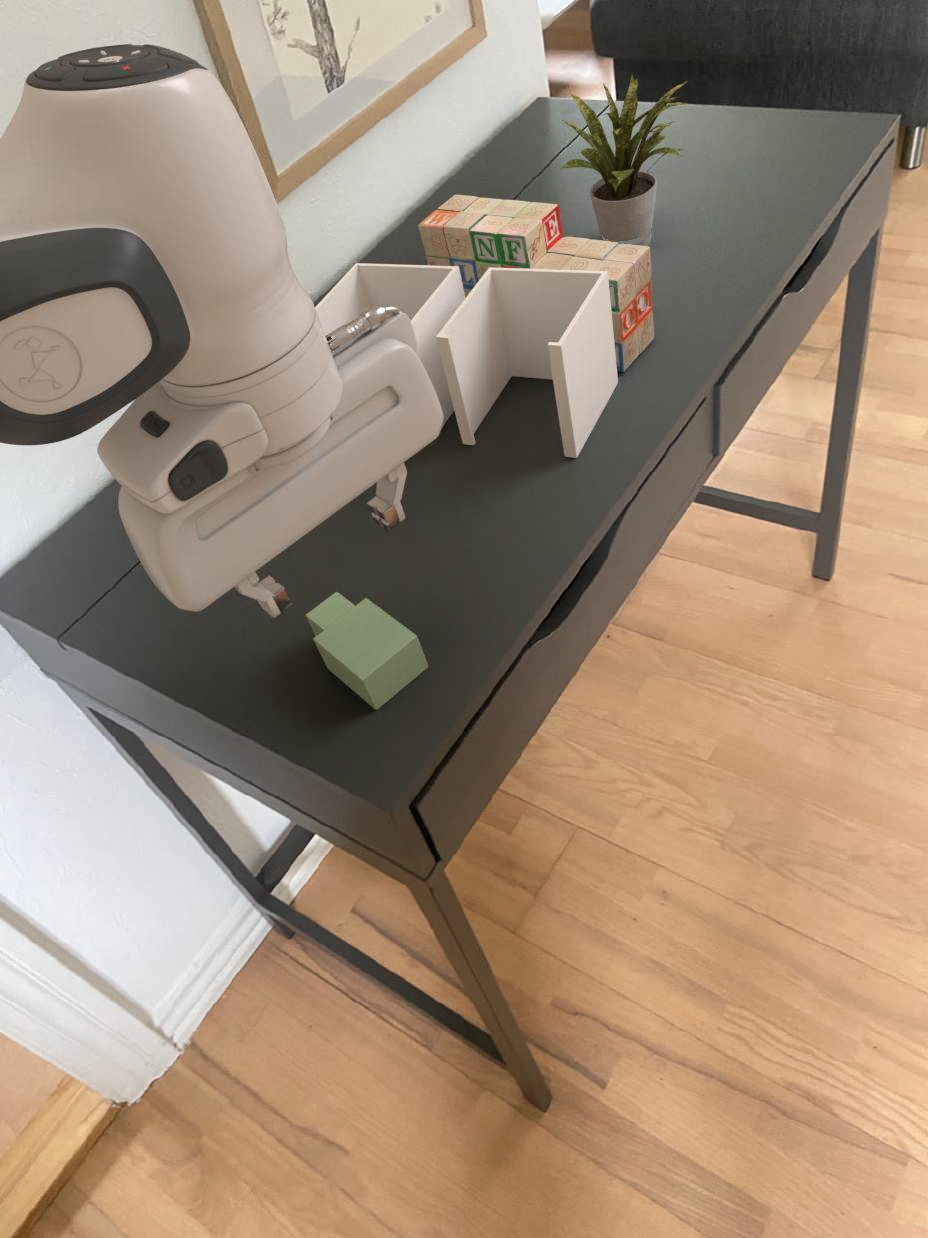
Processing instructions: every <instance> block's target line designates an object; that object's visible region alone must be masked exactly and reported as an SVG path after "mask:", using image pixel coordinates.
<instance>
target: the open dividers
mask: <svg viewBox="0 0 928 1238" xmlns="http://www.w3.org/2000/svg"><path fill="white" fill-rule="evenodd" d="M378 304H380V305H382V306H383V307H387V306H395V307H398V308H400V309H401V310H403V311H404V312H405V313H406V314H407V316H408V317H409V319H410V321H411V324H412V327H413V331H414V334H415V338H416V342H417V351H416V354H417V355H418V357H419V358H420V360H421V362H422V364H423V366H424V367H425V369H426V372H427V374H428V376H429V378H430V380H431V382H432V384H433V387H434V389H435V392H436V394H437V397H438V399H439V402H440V405H441V408H442V411H443V415H444V419H443V424H442V427H441V430H443V428H444V426H445V425H446V423H447V422H448V420H449V419H450V417H451V416H452V415H453V413H454V414H455V418H456V422H457V427H458V430H459V434H460V438H461V442H462V445H467V446H475V444H476V439H475V433H476V432H477V430H478V429H479V427H480V425H481V424H482V422H483V421H484V419H485V418H486V416H487V415H488V413H489V412H490V410H491V408H492V407H493V406H494V404H495V403H496V401H497V399H498V398H499V396H500V395H501V393H502V392H503V391H504V389H505V387H506V385H507V384H508V383H509V381H510V380H511V379H512V377H517V378H528V379H529V378H531V379H539V380H540V379H541V380H552V382H553V389H554V396H555V404H556V409H557V416H558V422H559V428H560V435H561V442H562V448H563V455H564V458H565V457H566V458H571V459H572V458H573V459H578V457H579V455H580V453H581V452H582V450H583V448H584V446H585V444H586V442H587V441H588V439H589V437H590V435H591V433H592V432H593V430H594V428H595V426H596V424H597V423H598V421H599V419H600V416H602V413H603V411H604V409H605V408H606V406H607V404H608V402H609V401H610V398H611V396H612V395H613V393H614V391H615V389H616V387H617V386H618V384H619V378H618V371H617V365H616V354H615V344H614V333H613V322H612V311H611V301H610V290H609V279H608V271H585V270H554V269H523V268H491V267H489V268H488V270H487V271H486V272H485V274H484V275H483V276H482V277H481V279H480V280H479V281H478V283H477V284H476V285H475V287H474V288H473V289H472V290H471V292H470V293H469V294H468V296H467V297H466V298H465V293H464V289H463V284H462V280H461V275H460V270H459V266H429V265H428V264H397V263H395V264H394V263H393V264H391V263H365V262H364V263H363V262H356V263H355V264H354V265H352V267H351V268H350V269H349V270H348V271H347V272H346V273H345V275H343V277H342V278H341V279H340V280H339V281H338V282H337V283H336V284H335V285H334V286H333V287H332V288H331V289H330V290H329V292H328V293H327V294H325V296H324V297H323V298H322V299H321V300H320V301H319V302H318V304H316V306H314V307H315V310H316V312H317V316H318V317H319V320H320V323H321V326H322V328H323V331H324V334H325V336H326V335H328V334H329V333H331V332H332V331H334V330H335V329H337V328H339V327H341V326H343V325H345V324H347V323H349V322H351V321H353V320H355V319H356V318H358V317H359V316H360V314H361V313H362V312H364V311H365V310H366V309H368V308H370V307H372V306H374V305H378ZM389 314H390V313H389ZM389 314H388V315H389Z"/></svg>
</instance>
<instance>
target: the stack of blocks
mask: <svg viewBox="0 0 928 1238" xmlns="http://www.w3.org/2000/svg"><path fill="white" fill-rule="evenodd" d="M417 228H418V231H419V234H420V238H421V239H420V240H421V242H422V245H423V249H424V253H425V259H426V262H427V265H429V266H459V270H460V275H461V280H462V284H463V289H464V293H465V298H466V297H467V296H468V294H469V293H470V292H471V290H472V289H473V288H474V287H475V285H476V284H477V283H478V281H479V280H480V279H481V277H482V276H483V275H484V274H485V272H486V271H487V270H488V268H489V267H491V268H523V269H554V270H585V271H608V279H609V290H610V301H611V311H612V322H613V333H614V344H615V354H616V365H617V372H622V373H624V372H625V371H626V370H627V369H628V368H629V367H630V366H631V364H632V363H633V362H634V361H636V359H637V358H638V357H639V355H641V354H642V353H643V351H645V350H646V348H647V347H648V346H649V345H650V344H651V343H652V341H653V340H654V338H655V324H654V311H653V309H654V303H653V289H652V280H651V279H652V260H651V259H652V258H651V247H650V246H649V245H648V246H641V245H632V244H624V243H622V244H620V243H618V242H611V241H603V240H602V239H594V238H593V239H590V238H587V237H575V236H564V233H563V232H564V231H563V225H562V219H561V211H560V206H559V204H557V203H549V202H548V203H547V202H537V201H526V200H516V199H502V198H492V197H491V198H490V197H479V196H475V195H474V196H473V195H465V194H454V195H453V196H452V197H450V198H449V199H447V200H446V201H445V202H444V203H442V204H441V205H440V206H438V207H437V209H436V210H434V211H432V212H431V213H430V214H429V215H428V216H426V217H425V218H424V219H423V220H422V221H421V222H419V224H418V225H417Z"/></svg>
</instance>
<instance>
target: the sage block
mask: <svg viewBox="0 0 928 1238" xmlns="http://www.w3.org/2000/svg"><path fill="white" fill-rule="evenodd" d="M305 618H306V619H307V622H308V624H309V625H310V628H311V630H312V633H313V634H314V636H315V637H313V638H312V640H313V642H314V644H315V646H316V648H317V650H318V652H319V654H320V656H321V658H322V660H323V662H324V664H325V666H326V668H327V670H329V672H330V673H332V674H333V675H334V676H336V678H338V679H339V680H340V681H341V682H342V683H344V685H346V686H347V687H348V688H349V689H351V690H352V691H353V692H354V693H355V694H356V695H357V696H359V697H360V698H361V699H362V700H363V701H364V702H366V703H367V704H368V705H369V706H370V707H371V708H373V709H374V710H375V711H378V710H379V709H380V708H381V707H383V706H385V704H386V703H387V702H389V701H390V700H391V699H392V698H393V697H395V696H396V695H397V694H398V693H399V692H401V691H402V690H403V689H404V688H405V687H407V686H408V685H409V684H410V683H411V682H412V681H413V680H415V679H416V678H417V677H419V676H420V675H421V674H423V672H424V671H426V670H427V669H428V668H429V664H428V661H427V658H426V655H425V654H424V651H423V648H422V645H421V642H420V640H419V637H418V635H416V634H415V633H414V632H413V631H411V630H410V629H409V628H407V627H406V626H404V625H403V624H402V623H401V622H399V621H398V620H396V619H395V618H394V617H392V616H391V615H390V614H388V613H387V612H386V611H384V610H383V609H382V608H380V607H379V606H378V605H377V604H375V603H374V602H372V601H371V600H370V599H368V598H367V597H365V598H364V599H362V600H360V602H358V603H357V604H354V603H352V602H351V601H350V600H348V599H347V598H346V597H344V596H343V595H342V594H341V593H339V592H338V591H335V592H334V593H332V594H331V595H330V596H329V597H327V598H326V599H324V600H323V601H322V602H320V603H319V604H318V605H316V606H315V607H314V608H313V609H311V610H310V611H308V613H306V614H305Z"/></svg>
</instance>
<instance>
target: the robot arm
mask: <svg viewBox="0 0 928 1238" xmlns="http://www.w3.org/2000/svg"><path fill="white" fill-rule="evenodd" d="M23 83H24V85H23V89H22V93H21V97H20V101H19V103H18V105H17V107H16V110H15V111H14V114H13V115H12V117H11V119H10V121H9V123H8V124H7V126H6V128H5V129H4V131H3V133H2V135H1V137H0V444H4V445H5V444H6V445H13V446H14V445H15V446H43V445H50V444H55V443H59V442H62V441H66V440H69V439H72V438H74V437H78V436H79V435H81V434H83V433H85V432H87V431H89V430H91V429H92V428H93V427H96V426H97V425H98V424H101V423H102V422H103V421H105V420H107V419H108V418H110V417H111V416H112V415H114V414H116V413H118V412H119V411H120V410H122V409H124V408H125V407H126V406H128V405H129V406H128V407H127V408H126V409H125V411H124V412H123V413H122V414H121V415H120V417H118V419H117V420H116V421H115V422H114V423H113V425H111V427H110V428H109V429H108V430H107V431H106V432H105V433H104V435H102V437H101V438H100V440H99V442H98V444H97V449H96V451H97V452H96V453H97V455H98V457H99V459H100V461H101V462H102V464H103V465H104V467H105V468H106V469H107V471H108V473H109V474H110V475H111V476H112V477H113V478H114V480H115V481H116V482H117V483H118V484H119V485H120V486H121V487H120V489H119V492H118V497H117V498H118V501H117V505H118V512H119V517H120V520H121V522H122V525H123V528H124V530H125V532H126V535H127V537H128V539H129V542H130V544H131V546H132V548H133V550H134V552H135V554H136V556H137V558H138V560H139V562H140V563H141V565H142V567H143V568H144V571H145V572H146V574H147V575H148V577H149V578H150V580H151V582H152V583H153V584H154V586H155V587H156V588H157V589H158V590H159V592H160V593H161V594H162V595H163V596H164V597H165V598H166V599H167V600H168V601H169V602H171V604H172V605H174V606H175V607H176V608H178V609H180V610H184V611H189V612H195V613H198V612H201V611H203V610H205V609H206V608H208V607H209V606H210V605H212V604H213V603H214V602H216V601H217V600H219V598H222V596H224V595H225V594H227V593H228V592H229V591H231V590H232V589H233V588H234V589H235V590H236V591H237V593H239V594H241V595H243V596H245V597H248V598H250V599H254V600H256V601H257V602H258V604H259V606H260V607H261V608H262V609H263V611H264V612H266V613H267V614H268V615H269V616H270V617H272V618H273V619H275V618H276V617H278V616H279V615H281V614H282V613H283V612H285V611H286V610H287V609H288V608H290V607H291V606H292V605H293V601H292V599H291V598H290V597H289V593H288V592H287V589H286V587H285V586H284V585H282V584H281V583H280V582H277V581H276V579H275V578H273V576H271V575H270V574H269V575H267V576H266V577H265V578H263V579H262V580H260V577H259V575H258V573H257V572H256V571H258V570H260V569H261V568H262V567H264V566H265V565H266V564H267V563H269V562H270V561H271V560H273V559H274V558H275V557H277V556H278V555H280V554H281V553H282V552H284V551H286V550H287V549H288V548H289V547H291V546H292V545H293V544H294V543H297V541H299V540H300V539H301V538H303V537H304V536H306V535H307V534H308V533H310V532H312V531H313V530H314V529H315V528H317V526H320V524H322V523H324V521H326V520H327V519H329V518H330V517H332V516H333V515H334V514H336V513H337V512H338V511H340V510H341V509H343V508H344V507H345V506H347V505H348V504H349V503H350V502H352V501H353V500H355V499H356V498H357V497H359V496H360V495H362V494H363V493H364V492H365V491H367V490H368V489H370V488H371V487H372V486H374V485H375V484H376V487H375V488H376V489H375V495H374V497H373V498H371V499H370V500H368V502H366V504H367V508H368V510H369V511H370V512H371V518H372V520H373V521H374V523H375V524H376V525H377V526H379V527H382V528H383V529H384V531H387V532H389V531H391V530H392V529H394V527H396V526H397V525H398V524H400V523H402V522H403V521H404V520H406V515H405V511H404V508H403V505H402V503H401V500H402V498H403V494H404V489H405V483H406V480H407V475H408V470H407V467H406V464H405V462H407V461H408V460H409V459H410V458H412V457H414V455H417V454H418V453H419V452H420V451H422V450H423V449H424V448H425V447H428V445H430V444H432V443H433V442H434V441H435V440H436V439H438V438H439V436H440V434H441V431H442V429H441V427H442V424H443V419H444V415H443V411H442V408H441V405H440V402H439V399H438V397H437V394H436V392H435V389H434V387H433V384H432V382H431V380H430V378H429V376H428V374H427V372H426V369H425V367H424V366H423V364H422V362H421V360H420V358H419V357H418V355H417V354H416V351H417V342H416V338H415V334H414V331H413V327H412V324H411V321H410V319H409V317H408V316H407V314H406V313H405V312H404V311H403V310H401V309H400V308H398V307H395V306H387V307H383V306H382V305H380V304H378V305H374V306H372V307H370V308H368V309H366V310H365V311H364V312H362V313H361V314H360V316H359V317H358V318H356V319H355V320H353V321H351V322H349V323H347V324H345V325H343V326H341V327H339V328H337V329H335V330H334V331H332V332H331V333H329V334H328V335H326V336H325V334H324V331H323V328H322V326H321V323H320V320H319V317H318V316H317V312H316V310H315V307H316V306H315V304H314V302H313V300H312V297H311V296H310V294H309V292H308V290H307V289H306V288H305V286H304V285H303V284H302V283H301V281H300V280H299V279H298V277H297V275H296V274H295V272H294V271H295V270H294V269H293V267H292V264H291V261H290V257H289V252H288V251H289V250H288V236H287V230H286V226H285V222H284V219H283V216H282V213H281V211H280V209H279V206H278V204H277V201H276V198H275V195H274V193H273V190H272V187H271V185H270V183H269V181H268V177H267V174H266V173H265V170H264V168H263V165H262V163H261V161H260V158H259V156H258V154H257V151H256V149H255V147H254V144H253V142H252V140H251V138H250V136H249V133H248V131H247V129H246V127H245V125H244V123H243V122H242V119H241V117H240V115H239V113H238V111H237V109H236V107H235V106H234V104H233V101H232V100H231V99H230V97H229V95H228V93H227V91H226V89H225V88H224V87H223V85H222V84H221V83H220V81H219V80H218V78H217V77H216V76H215V75H214V74H213V72H212V71H211V70H209V68H207V67H205V66H203V65H202V64H200V63H199V62H198V61H197V60H196V59H194V58H192V57H190V56H188V55H186V54H183V53H181V52H178V51H177V50H173V49H170V48H168V47H163V46H160V45H156V44H150V43H149V44H148V43H147V44H145V43H144V44H143V45H142V44H131V43H126V44H115V45H106V46H97V47H92V48H86V49H81V50H76V51H74V52H73V51H72V52H69V53H67V54H63V55H60V56H58V57H57V58H56V59H52V60H49V61H46V62H44V63H43V64H41V65H39V66H38V67H37V68H36V69H35V70H34V71H32V72H30V73H29V74H28V75H27V77H26V78H25V80H24V82H23ZM389 313H390V314H389ZM388 314H389V315H388ZM442 428H443V427H442Z"/></svg>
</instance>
